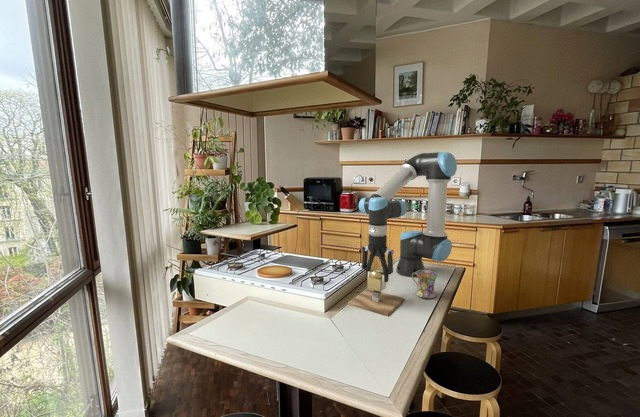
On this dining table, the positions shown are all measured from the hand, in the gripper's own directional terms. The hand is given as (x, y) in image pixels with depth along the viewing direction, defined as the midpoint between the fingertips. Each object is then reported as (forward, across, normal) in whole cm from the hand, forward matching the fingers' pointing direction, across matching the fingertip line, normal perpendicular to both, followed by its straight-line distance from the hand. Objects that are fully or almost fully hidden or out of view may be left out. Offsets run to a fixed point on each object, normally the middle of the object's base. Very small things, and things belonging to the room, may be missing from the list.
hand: (376, 287), depth 132 cm
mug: (+7, +14, +19) cm, 25 cm away
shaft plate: (+7, 0, 0) cm, 7 cm away
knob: (0, 0, 0) cm, 0 cm away
